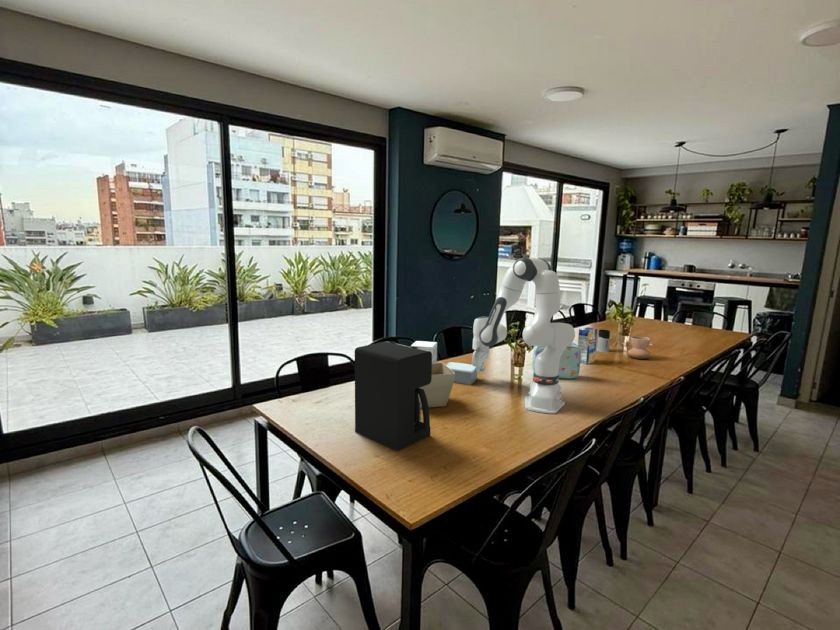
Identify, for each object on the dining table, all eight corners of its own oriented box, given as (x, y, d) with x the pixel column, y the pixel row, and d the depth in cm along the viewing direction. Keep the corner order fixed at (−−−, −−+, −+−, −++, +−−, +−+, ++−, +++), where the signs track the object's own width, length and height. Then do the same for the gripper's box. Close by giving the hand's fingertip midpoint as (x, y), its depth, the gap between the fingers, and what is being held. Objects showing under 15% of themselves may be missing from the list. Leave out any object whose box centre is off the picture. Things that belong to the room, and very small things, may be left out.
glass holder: (600, 348, 328) (601, 328, 326) (618, 352, 317) (620, 332, 315) (593, 350, 323) (595, 330, 320) (612, 354, 312) (614, 333, 309)
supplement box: (409, 374, 256) (410, 345, 253) (415, 368, 268) (415, 340, 265) (432, 376, 253) (432, 346, 250) (436, 370, 265) (437, 342, 262)
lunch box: (577, 375, 261) (579, 339, 257) (581, 380, 250) (584, 343, 247) (531, 373, 263) (533, 337, 260) (533, 378, 253) (535, 341, 250)
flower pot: (415, 412, 199) (415, 376, 197) (405, 397, 218) (405, 364, 215) (454, 408, 205) (455, 373, 202) (441, 394, 223) (442, 362, 220)
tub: (470, 384, 239) (471, 372, 238) (443, 380, 245) (443, 368, 244) (477, 378, 250) (477, 366, 249) (450, 375, 256) (450, 363, 255)
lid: (480, 375, 235) (481, 371, 235) (442, 370, 244) (442, 366, 243) (487, 369, 247) (487, 365, 247) (450, 364, 256) (450, 360, 255)
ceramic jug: (656, 359, 301) (658, 338, 299) (645, 361, 292) (647, 340, 290) (630, 354, 315) (631, 334, 313) (619, 356, 307) (621, 336, 305)
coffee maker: (439, 438, 173) (441, 351, 167) (405, 455, 158) (406, 361, 153) (389, 418, 191) (389, 339, 186) (354, 432, 177) (353, 347, 171)
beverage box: (576, 362, 289) (578, 329, 286) (585, 359, 296) (587, 327, 293) (586, 364, 284) (588, 330, 281) (594, 361, 291) (597, 328, 288)
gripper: (481, 350, 229) (480, 376, 231) (491, 342, 248) (490, 366, 250) (469, 349, 232) (468, 374, 234) (480, 341, 250) (479, 365, 252)
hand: (479, 370), depth 242 cm, fingers open, 3 cm apart
